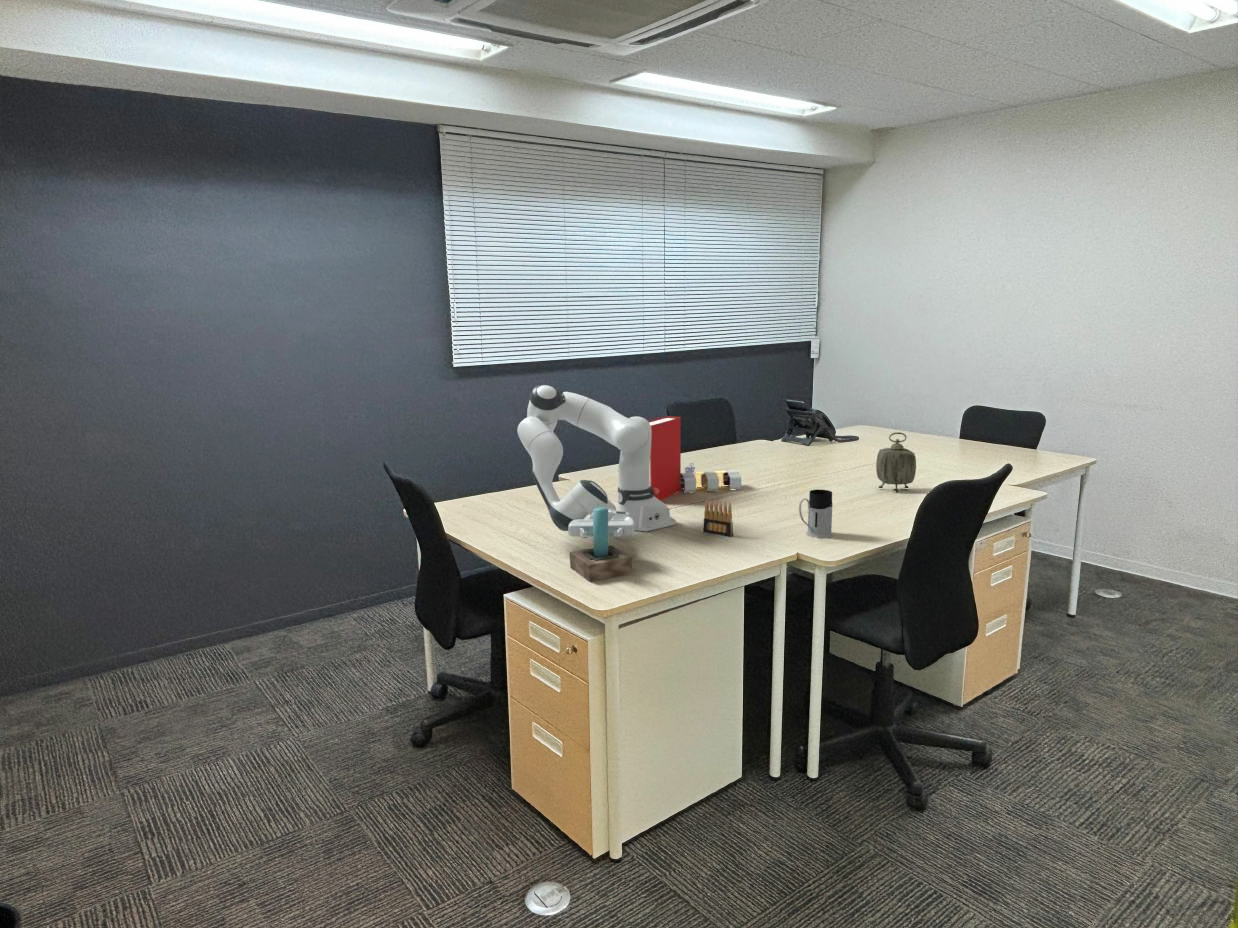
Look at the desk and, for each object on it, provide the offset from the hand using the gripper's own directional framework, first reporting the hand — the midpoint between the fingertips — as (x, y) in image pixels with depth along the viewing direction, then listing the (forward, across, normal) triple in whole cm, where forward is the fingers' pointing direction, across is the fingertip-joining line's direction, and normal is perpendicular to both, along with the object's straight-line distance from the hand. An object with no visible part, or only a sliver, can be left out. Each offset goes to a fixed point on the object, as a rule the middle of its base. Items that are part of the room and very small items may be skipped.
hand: (600, 535), depth 228 cm
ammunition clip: (-38, +39, +12) cm, 56 cm away
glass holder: (-35, +71, +12) cm, 80 cm away
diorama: (-106, +42, +12) cm, 115 cm away
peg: (-1, 0, +10) cm, 10 cm away
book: (-95, +20, +12) cm, 98 cm away
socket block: (0, 0, +11) cm, 11 cm away
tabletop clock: (-99, +120, +12) cm, 156 cm away
